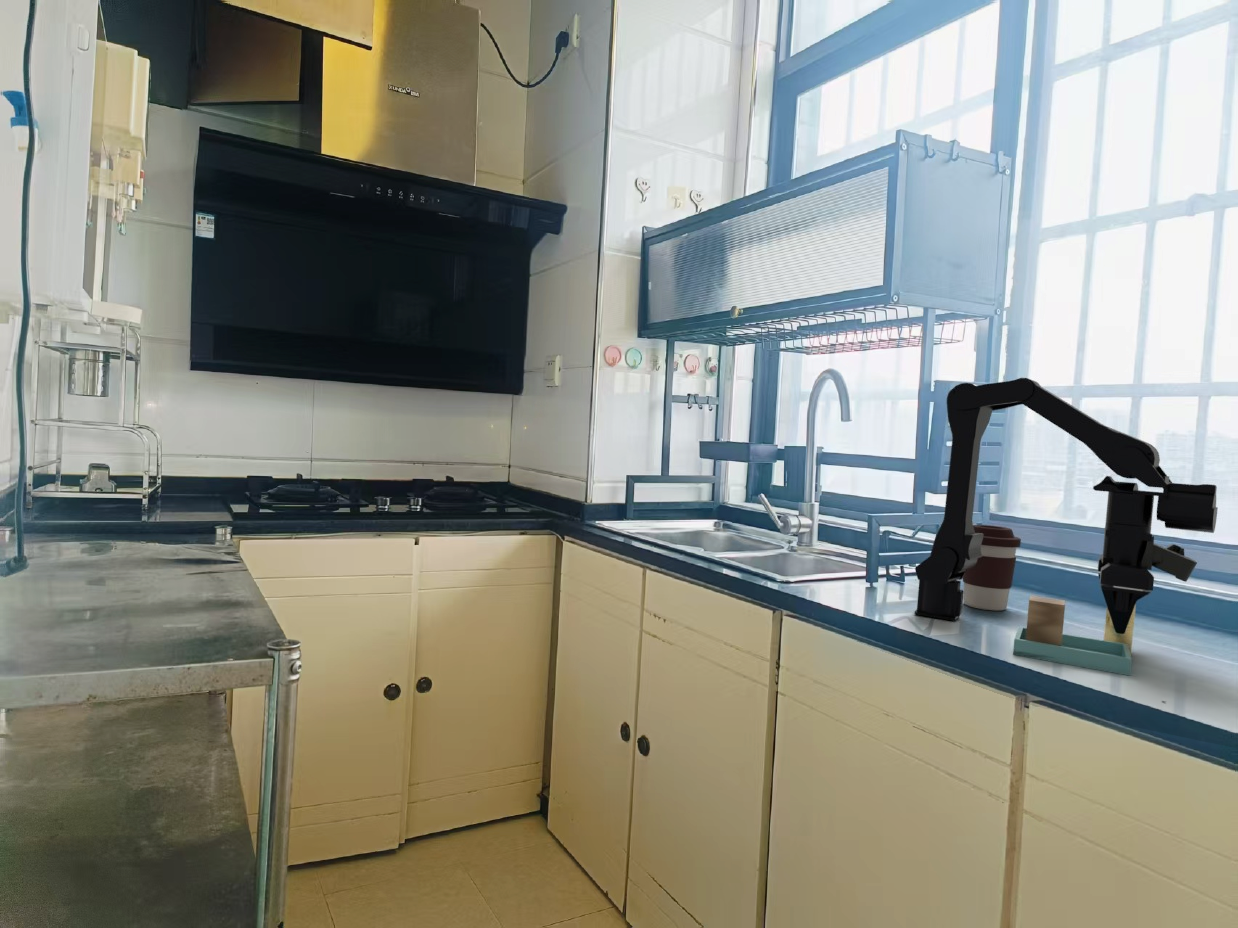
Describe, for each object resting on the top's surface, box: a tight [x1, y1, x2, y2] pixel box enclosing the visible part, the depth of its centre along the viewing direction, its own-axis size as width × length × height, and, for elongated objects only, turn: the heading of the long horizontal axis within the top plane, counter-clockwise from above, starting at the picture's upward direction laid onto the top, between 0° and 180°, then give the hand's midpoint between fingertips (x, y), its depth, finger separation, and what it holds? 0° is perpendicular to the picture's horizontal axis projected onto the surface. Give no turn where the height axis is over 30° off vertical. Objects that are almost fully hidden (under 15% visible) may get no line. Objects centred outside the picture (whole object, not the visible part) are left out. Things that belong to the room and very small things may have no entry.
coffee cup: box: [962, 524, 1022, 612], centre depth 145 cm, size 10×10×15 cm
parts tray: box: [1012, 626, 1133, 676], centre depth 111 cm, size 14×10×2 cm
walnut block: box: [1026, 595, 1066, 646], centre depth 113 cm, size 4×4×7 cm
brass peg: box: [1103, 604, 1137, 655], centre depth 116 cm, size 4×4×8 cm
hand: (1118, 627), depth 116 cm, fingers open, 9 cm apart
